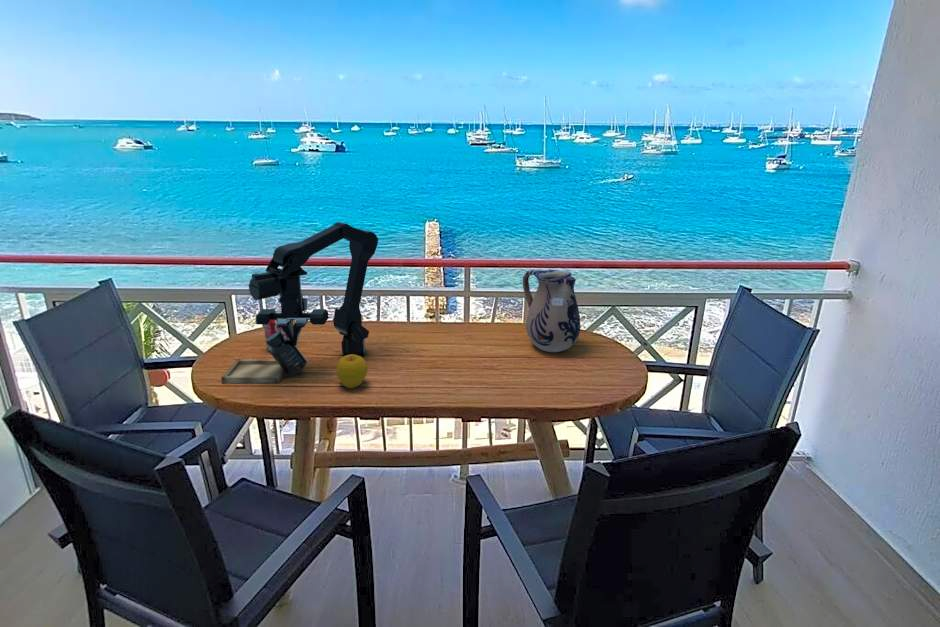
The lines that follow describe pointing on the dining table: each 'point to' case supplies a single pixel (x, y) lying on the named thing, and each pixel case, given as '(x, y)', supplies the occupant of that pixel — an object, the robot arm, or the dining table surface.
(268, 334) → the soda can
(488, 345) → the dining table surface
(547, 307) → the ceramic pitcher
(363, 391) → the dining table surface
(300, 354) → the supplement bottle
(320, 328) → the dining table surface
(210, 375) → the dining table surface
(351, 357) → the apple
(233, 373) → the metal tray
